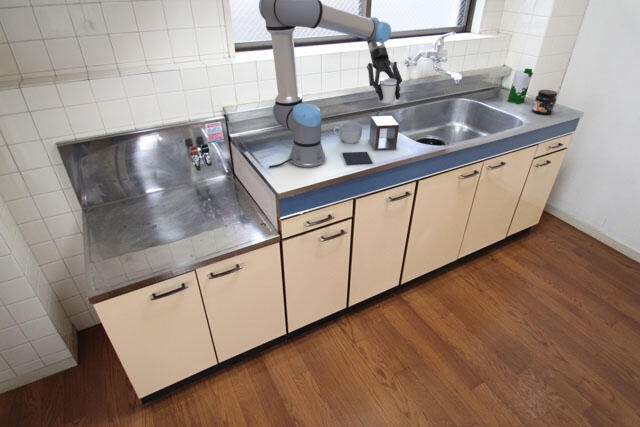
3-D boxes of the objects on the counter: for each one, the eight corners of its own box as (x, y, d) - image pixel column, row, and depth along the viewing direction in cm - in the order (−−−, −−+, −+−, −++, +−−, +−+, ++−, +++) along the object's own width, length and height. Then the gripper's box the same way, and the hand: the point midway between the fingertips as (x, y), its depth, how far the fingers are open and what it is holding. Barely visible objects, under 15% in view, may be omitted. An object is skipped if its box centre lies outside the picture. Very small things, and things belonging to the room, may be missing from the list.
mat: (347, 165, 165) (347, 163, 164) (342, 154, 174) (342, 152, 173) (372, 163, 166) (372, 162, 165) (366, 153, 175) (366, 151, 174)
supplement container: (528, 112, 225) (534, 91, 218) (536, 108, 231) (542, 88, 224) (547, 116, 218) (554, 95, 211) (554, 112, 224) (561, 92, 217)
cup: (380, 103, 168) (382, 82, 163) (376, 98, 174) (378, 78, 169) (396, 103, 168) (399, 82, 163) (391, 98, 174) (394, 77, 169)
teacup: (361, 137, 190) (362, 122, 186) (361, 146, 181) (362, 130, 177) (333, 136, 191) (333, 120, 187) (331, 145, 182) (332, 129, 178)
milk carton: (519, 104, 236) (529, 71, 225) (505, 101, 242) (514, 68, 231) (526, 102, 241) (536, 68, 230) (512, 98, 247) (521, 66, 236)
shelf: (374, 150, 177) (377, 125, 171) (369, 140, 187) (371, 116, 181) (395, 149, 178) (399, 124, 172) (389, 139, 188) (391, 115, 182)
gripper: (395, 56, 177) (407, 101, 173) (354, 58, 172) (365, 104, 168) (402, 45, 170) (414, 92, 166) (360, 47, 165) (371, 96, 161)
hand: (390, 98), depth 167 cm, fingers closed on cup, 7 cm apart
